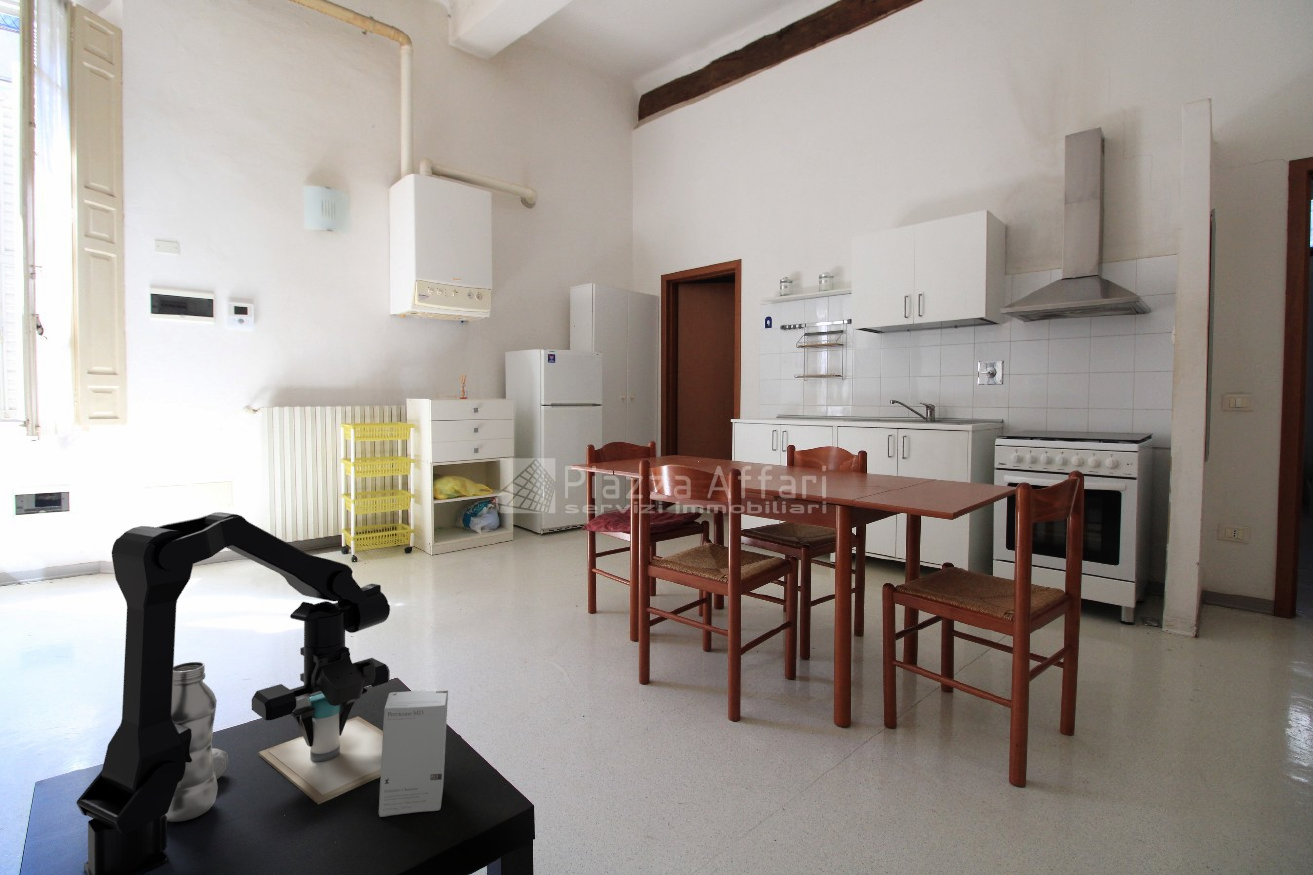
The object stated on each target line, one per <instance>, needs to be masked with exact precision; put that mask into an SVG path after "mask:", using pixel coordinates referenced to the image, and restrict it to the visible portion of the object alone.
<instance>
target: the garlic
mask: <svg viewBox="0 0 1313 875" xmlns="http://www.w3.org/2000/svg"><path fill="white" fill-rule="evenodd" d="M212 757H213V766H214V772H215V776H216V779H217V780H218V779H219V778H220V777H221V776H223V775H224V773H225V771H226V769H227V767H228V765H229V756H228V753H227V752H226V751H224V750H222V749H220V748H216V747H215V748H213V747H212Z"/></svg>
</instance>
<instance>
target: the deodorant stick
mask: <svg viewBox="0 0 1313 875" xmlns="http://www.w3.org/2000/svg"><path fill="white" fill-rule="evenodd" d="M310 705H311V706H313V707H314V708H315V711H314V713H313V715H312V721H313V746H311V750H310V759H311V760H312V761H314V762H323V761H328V760H331V759H333V758H335V757H337V756H338V755H339V754H340V744H339V711H340V705H338V706H332V705H330V704H329V703H328V701H327V699H326V697H325V696H324V695H323V693H321V694H318V695H315V696H312V697H310Z"/></svg>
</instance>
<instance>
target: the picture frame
mask: <svg viewBox="0 0 1313 875" xmlns="http://www.w3.org/2000/svg"><path fill="white" fill-rule="evenodd" d="M382 741H383V729H382V730H381V729H380V728H379V727H377V726H375V725H373V724H372V723H370V722H368V721H367V720H365V719H363V718H362V717H360V716H356V717H352V718H350V719H347V721H346V724H345V726H344V729H343V731H342V734H341V736H339V744H340V754H339V755H338V756H337V757H335V758H333V759H331V760H328V761H323V762H314V761H312V760H311V759H310V750H311V747H309V746H308V745H307V744H306V741H305V739H304V737H303V735H301V736H299V737H297V738H294V739H292V740H288V741H286V742H282V743H280V744H277V745H275V746H271V747H269V748H267V749H264V750H261V751H258V756H259V757H260V758H261V759H263V760H264V761H265V762H266V763H267V764H268V765H270V766H271V767H272V768H274V770H276V771H277V772H278V773H279V774H281V775H282V776H283V777H284V778H285V779H287V781H289V782H291V784H293V785H294V786H295V787H296V788H298V789H299V790H300V791H301V792H303V793H304V794H305V795H306V796H307V797H309V799H311V800H312V801H313V802H315V803H316V804H317V805H321V804H323V803H325V802H327V801H329V800H332V799H334V798H336V797H338V796H340V795H342V794H345V793H347V792H350V791H351V790H354V789H356V788H358V787H360V786H363V785H366V784H367V783H369V782H371V781H374V780H376V779H379V778H381V761H382Z"/></svg>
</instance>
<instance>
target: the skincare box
mask: <svg viewBox="0 0 1313 875" xmlns="http://www.w3.org/2000/svg"><path fill="white" fill-rule="evenodd" d="M448 698H449V690H448V689H437V690H425V689H424V690H423V689H421V690H418V689H417V690H411V691H409V690H408V691H394V692H389V693H388V696H387V699H386V703H385V705H384V710H383V723H382V724H383V725H382V726H383V728H382V731H383V741H382V761H381V777H380V781H379V782H380V783H379V796H378V797H379V798H378V799H379V801H378V802H379V803H378V815H379V818H381V817H382V818H384V817H391V816H398V815H405V814H413V813H423V812H436V811H440V810H441V808H442V800H443V799H442V798H443V792H444V790H443V789H444V779H445V777H444V776H445V760H446V759H445V758H446V739H447V738H446V737H447V720H448V718H447V717H448V700H449V699H448Z"/></svg>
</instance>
